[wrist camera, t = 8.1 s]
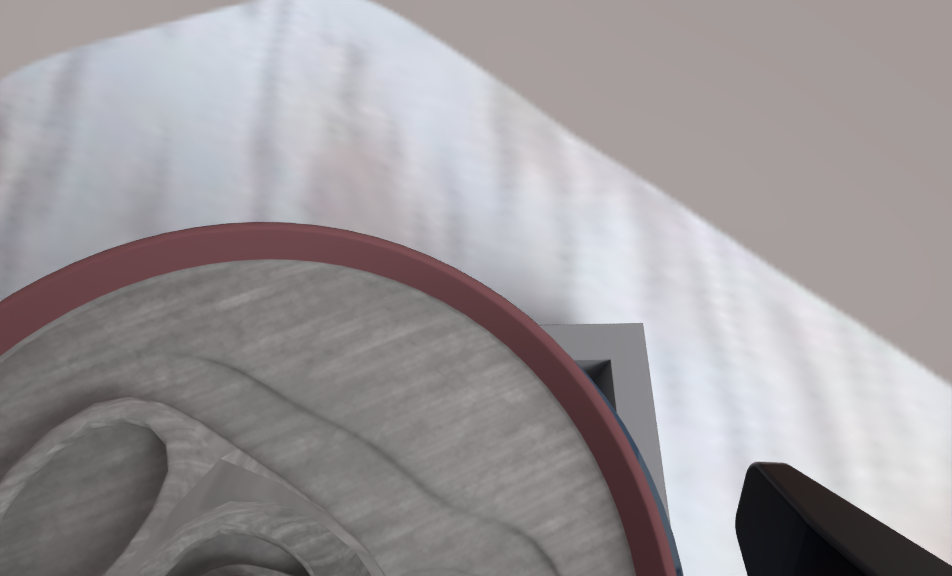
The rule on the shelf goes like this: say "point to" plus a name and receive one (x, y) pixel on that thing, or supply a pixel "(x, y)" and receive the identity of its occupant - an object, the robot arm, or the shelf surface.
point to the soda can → (304, 420)
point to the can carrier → (619, 380)
